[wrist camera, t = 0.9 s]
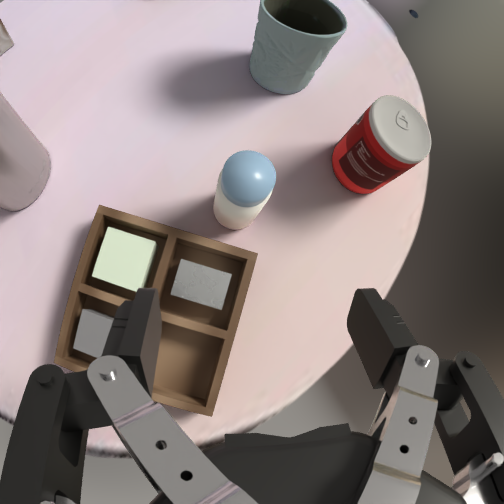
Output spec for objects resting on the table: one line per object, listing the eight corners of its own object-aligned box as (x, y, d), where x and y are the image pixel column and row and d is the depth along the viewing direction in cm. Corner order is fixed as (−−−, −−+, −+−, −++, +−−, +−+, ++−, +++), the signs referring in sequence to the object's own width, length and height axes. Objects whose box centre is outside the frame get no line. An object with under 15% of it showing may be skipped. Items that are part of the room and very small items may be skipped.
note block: (100, 278, 31) (91, 276, 28) (115, 233, 32) (108, 226, 29) (144, 293, 31) (139, 292, 28) (158, 247, 32) (155, 241, 29)
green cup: (233, 81, 38) (248, 14, 26) (257, 38, 40) (275, -23, 28) (305, 109, 39) (341, 50, 27) (321, 62, 41) (352, 7, 29)
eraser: (83, 344, 29) (73, 348, 26) (92, 309, 30) (82, 309, 27) (126, 361, 30) (119, 366, 27) (135, 324, 31) (129, 326, 28)
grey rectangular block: (172, 295, 32) (170, 294, 29) (182, 262, 32) (181, 258, 30) (219, 309, 32) (221, 309, 30) (229, 276, 33) (231, 274, 31)
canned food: (377, 144, 40) (423, 104, 29) (385, 199, 39) (438, 168, 28) (327, 135, 39) (365, 86, 28) (332, 192, 37) (378, 154, 27)
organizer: (66, 357, 29) (53, 362, 26) (107, 214, 32) (99, 204, 29) (210, 405, 31) (211, 416, 28) (251, 258, 34) (257, 253, 31)
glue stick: (207, 221, 34) (212, 191, 25) (220, 182, 35) (230, 141, 26) (250, 235, 35) (270, 210, 26) (262, 195, 36) (284, 159, 26)
